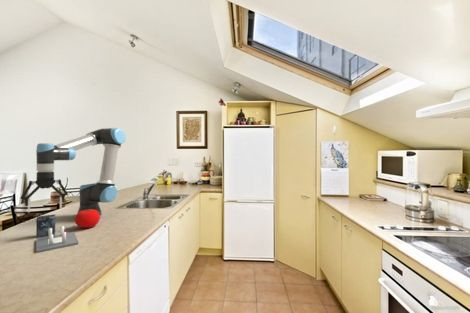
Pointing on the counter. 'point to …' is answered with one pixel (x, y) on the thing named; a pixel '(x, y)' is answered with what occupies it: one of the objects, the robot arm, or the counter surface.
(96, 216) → the tomato
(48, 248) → the grey stand base
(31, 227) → the counter surface
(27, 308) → the counter surface
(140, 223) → the counter surface
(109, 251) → the counter surface
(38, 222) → the box
